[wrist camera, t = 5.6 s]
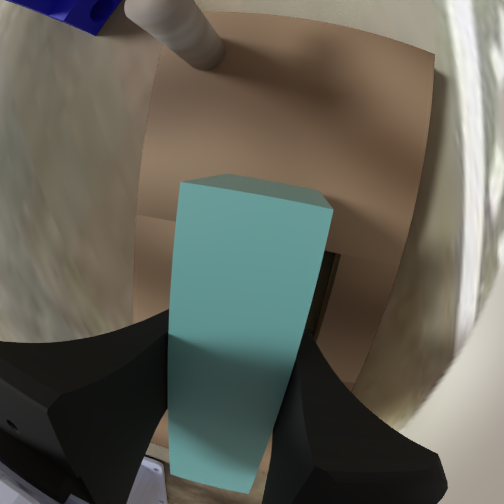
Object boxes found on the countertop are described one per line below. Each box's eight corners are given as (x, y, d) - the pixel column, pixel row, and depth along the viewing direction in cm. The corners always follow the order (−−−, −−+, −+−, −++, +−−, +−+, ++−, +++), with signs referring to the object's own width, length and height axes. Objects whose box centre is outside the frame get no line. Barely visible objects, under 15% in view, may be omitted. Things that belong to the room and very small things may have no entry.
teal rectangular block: (262, 420, 14) (248, 493, 9) (199, 405, 14) (170, 474, 10) (318, 190, 10) (333, 209, 6) (227, 173, 11) (180, 182, 6)
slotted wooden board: (306, 464, 17) (301, 539, 11) (149, 428, 18) (113, 493, 12) (424, 51, 10) (494, -5, 4) (182, 13, 11) (117, -54, 5)
